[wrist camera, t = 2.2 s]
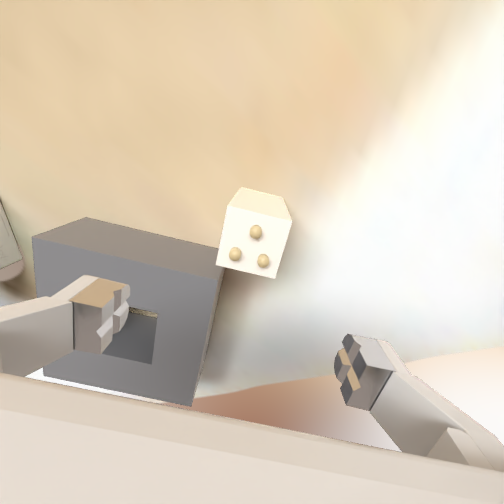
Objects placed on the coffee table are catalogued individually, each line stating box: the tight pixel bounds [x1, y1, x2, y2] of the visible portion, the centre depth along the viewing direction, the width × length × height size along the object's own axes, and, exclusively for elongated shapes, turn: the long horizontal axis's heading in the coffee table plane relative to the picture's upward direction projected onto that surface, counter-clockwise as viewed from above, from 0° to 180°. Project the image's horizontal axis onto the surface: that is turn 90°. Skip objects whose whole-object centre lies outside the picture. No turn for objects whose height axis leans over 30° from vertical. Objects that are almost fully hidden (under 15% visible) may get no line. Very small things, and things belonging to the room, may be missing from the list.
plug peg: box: [216, 187, 292, 279], centre depth 22 cm, size 4×4×11 cm
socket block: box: [32, 217, 225, 406], centre depth 28 cm, size 16×16×7 cm
